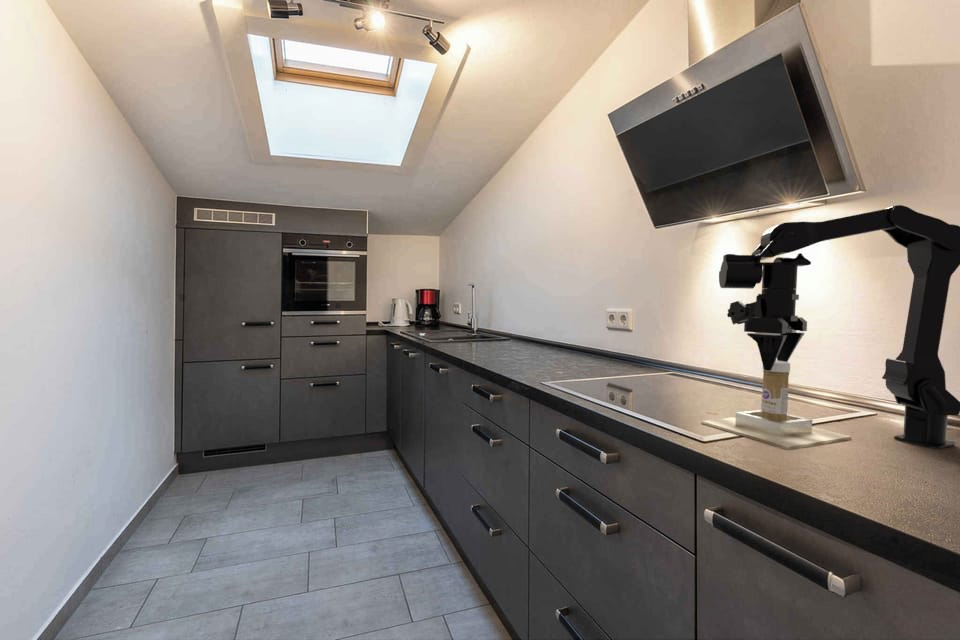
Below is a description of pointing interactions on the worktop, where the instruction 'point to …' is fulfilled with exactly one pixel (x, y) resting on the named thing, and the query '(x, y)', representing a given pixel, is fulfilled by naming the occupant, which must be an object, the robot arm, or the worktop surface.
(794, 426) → the socket collar
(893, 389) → the robot arm
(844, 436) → the birch board
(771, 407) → the sprinkles bottle
